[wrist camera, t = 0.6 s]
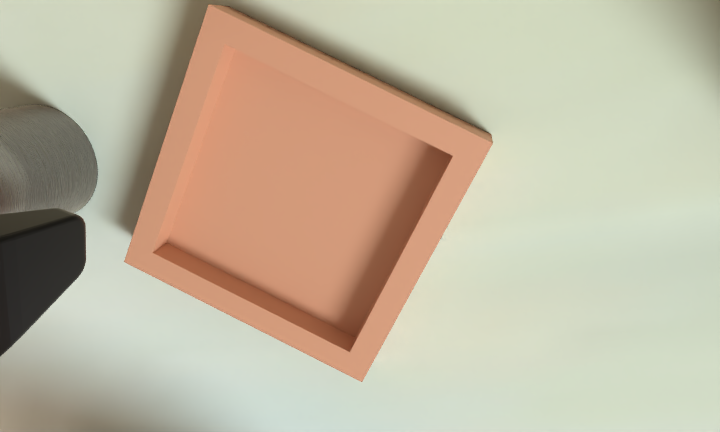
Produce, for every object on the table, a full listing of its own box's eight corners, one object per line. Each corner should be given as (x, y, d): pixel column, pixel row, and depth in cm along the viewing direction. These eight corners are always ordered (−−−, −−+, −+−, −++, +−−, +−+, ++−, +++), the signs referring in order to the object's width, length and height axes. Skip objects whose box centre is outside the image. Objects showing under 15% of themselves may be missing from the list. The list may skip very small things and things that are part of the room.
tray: (369, 358, 26) (361, 381, 24) (146, 246, 26) (124, 261, 24) (491, 134, 22) (492, 143, 20) (228, 6, 22) (208, 4, 20)
